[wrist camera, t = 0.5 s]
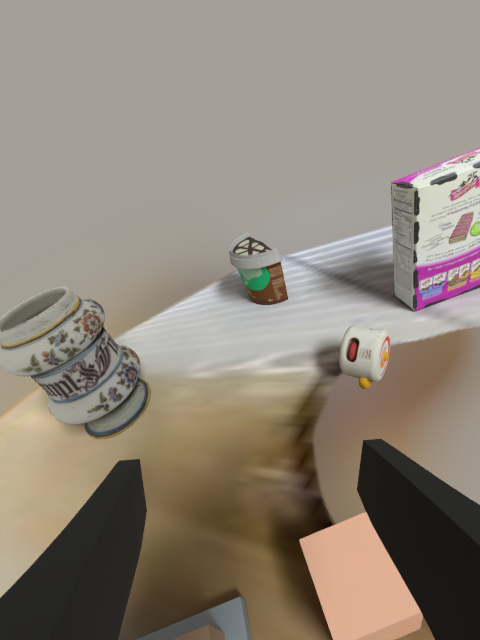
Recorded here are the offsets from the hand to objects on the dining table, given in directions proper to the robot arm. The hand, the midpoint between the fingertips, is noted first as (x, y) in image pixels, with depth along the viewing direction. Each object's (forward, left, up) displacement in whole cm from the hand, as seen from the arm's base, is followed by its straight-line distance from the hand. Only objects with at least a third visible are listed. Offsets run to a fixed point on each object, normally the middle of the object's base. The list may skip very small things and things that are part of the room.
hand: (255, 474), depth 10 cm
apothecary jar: (+27, +19, -19) cm, 38 cm away
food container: (+41, -7, -19) cm, 46 cm away
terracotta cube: (0, -2, -19) cm, 19 cm away
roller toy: (+17, -13, -19) cm, 29 cm away
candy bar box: (+25, -29, -19) cm, 43 cm away
